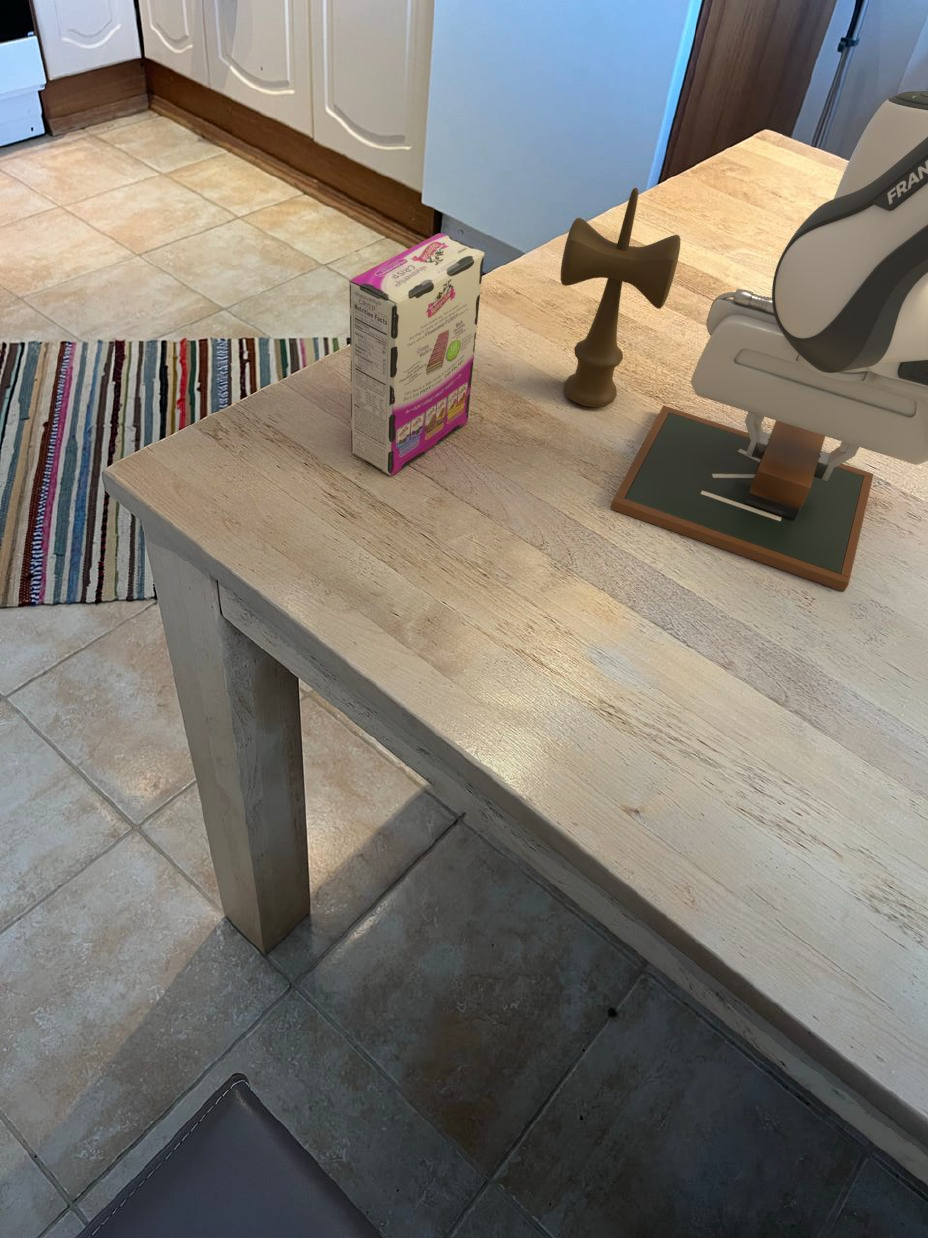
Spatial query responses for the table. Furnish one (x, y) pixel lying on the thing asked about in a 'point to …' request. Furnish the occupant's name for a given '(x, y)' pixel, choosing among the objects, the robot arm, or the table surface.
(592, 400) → the kendama
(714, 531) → the chalkboard
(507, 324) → the table surface
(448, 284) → the candy bar box
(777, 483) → the eraser
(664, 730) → the table surface
